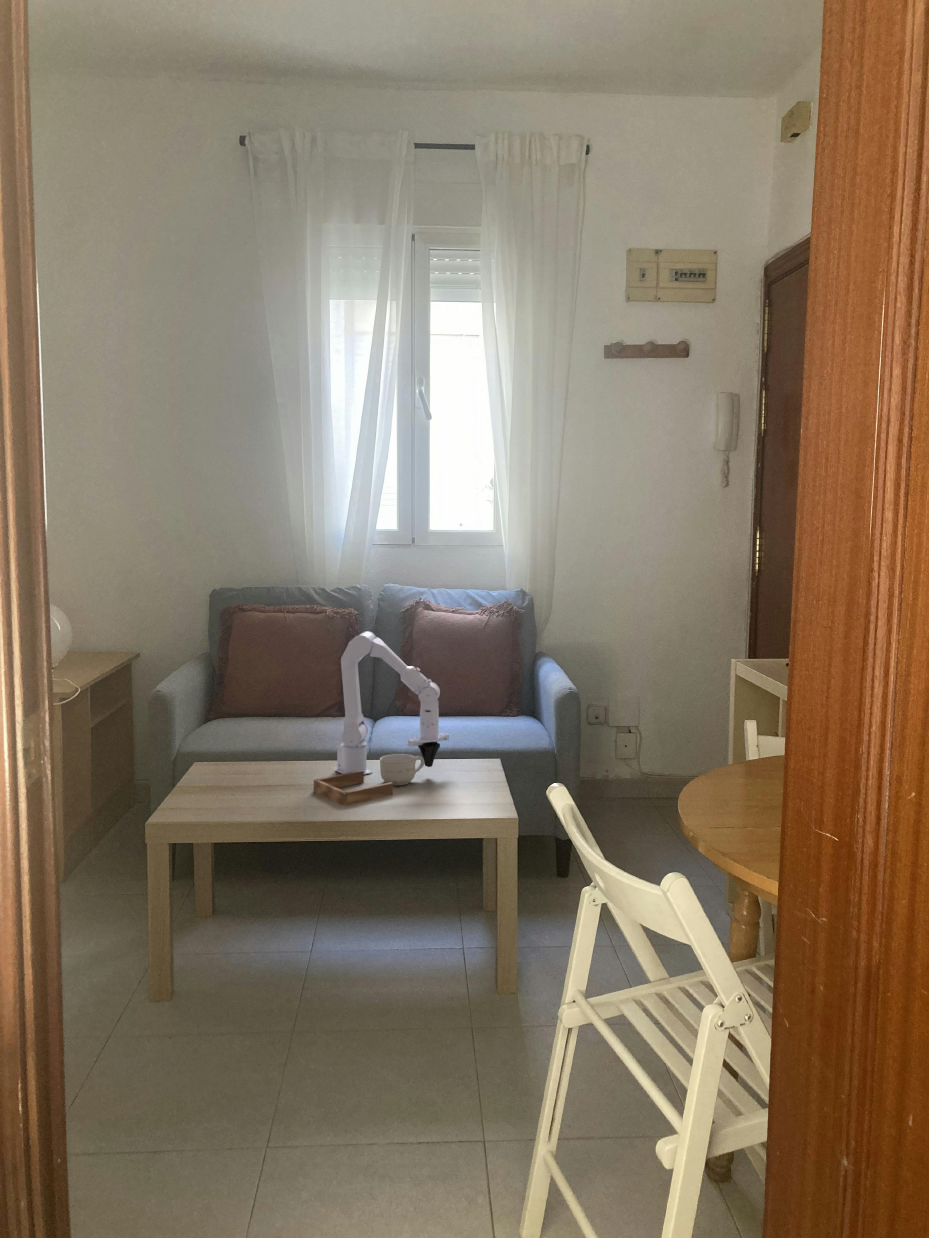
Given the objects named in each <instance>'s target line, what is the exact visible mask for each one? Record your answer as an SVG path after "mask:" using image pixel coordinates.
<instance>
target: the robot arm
mask: <svg viewBox="0 0 929 1238" xmlns="http://www.w3.org/2000/svg"><path fill="white" fill-rule="evenodd" d="M368 654H370V655H369V657H373V658H380V659H382V660H383V661H384V662H385V663H386V664H387V665H389V666H390V667H391V668H392V669H394V670H395V671H396V672H397V673H398V674H399V675H400V681H401V682H402V683H403V684H404V685H406V686H407V687H408V688H409V690H411V691H412V692H413V693H414V694H416V695H418V700H419V701H420V708H419V736H417V737H416V736H415V737H413V738H411V739H408V740H407V746H408V747H410V748H414V747H415V746H417V747H418V748H419V749H418V750H419V751H420V753H421V757H423V759H424V766H425V767H427V768H432V767H433V764H434V762H435V761H434V760H435V757H436V755H437V753H438V751H439V750H440V747H441V744H440V743H439V742H443V741H449V740H450V734H449V733H447V732H445V733H444V732H443V733H439V723H440V722H439V719H440V717H439V716H440V714H439V713H440V712H439V711H440V709H439V706H440V705H439V698H440V693H441V689H440V687H439V686H438V684H437V683H435V682H432V679H430V678H427V677H426V676H425V675H424V674H423V673H421V672H420V671H421V669H420V668H419V667H415V666H413V665H411V666H410V665H409V666H408V665H407V664H406V663H405V662H404V661H403V659H401V658H400V657H399V656H398V655H397V654H396V653H395V652H394V651H393V650H392V649H391V648H390V647H389V646H388V645H387V644H386V643H385V642H384V641H383V640H382V639H381V638H379V637H377V636H376V634H375V633H373V632H371V631H363V632H361V633H360V634H359V635H356V636H355V637H354V638H352V639H351V640H350V641H349V642H348V644H347V646H346V648H345V650H344V652H343V654H342V655H341V658H340V668H341V669H340V670H341V679H342V692H343V703H344V714H345V715H344V719H343V720H344V721H343V730H342V733H341V741H342V742H341V744H340V745H338V748H337V753H336V754H337V757H336V758H337V759H336V760H337V763H336V765H337V766H336V767H337V768H335V769H334V771H335V772H337V773H340V774H345V773H350V772H355V771H360V770H362V771H364V775H369V774H373V771H372V770H369V769H368V768H367V742H366V739H365V738H366V737H367V736H368V734H369V728H368V725H367V724H366V722H365V717H364V714H363V713H362V703H361V699H362V698H361V692H360V691H361V689H360V677H359V676H360V675H359V666H358V663H359V662H360V661H361V660H362V659H363V658H364V657H366V655H368Z"/></svg>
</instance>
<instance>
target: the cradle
mask: <svg viewBox="0 0 929 1238" xmlns="http://www.w3.org/2000/svg"><path fill="white" fill-rule="evenodd" d="M364 777H365V776H364V771H362V770H360V771H355V772H350V773H345V774H342V773H340V774H336V775H330V776H326V777H321V778H316V779H313V793H316V794H318V795H320V796H323V797H324V798H327V799H329V800H331V801H333V802H335V803H338V804H340V805H341V806H344V807H345V806H351V805H354V804H359V803H363V802H369V801H372V800H376V799H381V798H384V797H390V796H393V795H394V785H393V783H392V782H389V783H386V782H384V783H381V784H380V783H379V784H376V785H372V786H366V787H362V788H357V789H353V790H348V791H345V790H343V789H340V788H343V787H349V786H353V785H357V784H363V783H364V781H365V780H364Z"/></svg>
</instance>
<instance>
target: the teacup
mask: <svg viewBox="0 0 929 1238" xmlns="http://www.w3.org/2000/svg"><path fill="white" fill-rule="evenodd" d="M418 760H420V763H419V765H418V766H417V767H416V762H417V761H418ZM379 764H380V765H379V768H380V776H381V779H382V780H383V782H384V783H389V782H392V783H393V786H403V785H408V784H410V783H411V781H412V780H413V779H414V778H415V775H416V773H418V772H419V771H420V770H421V769H422V768H423V767H424V766H425V763H424V759H423V756H422V755H415V756H414V755H412V754H407V753H406V754H405V753H393V754H386V755H383V756H381V757H380V758H379Z"/></svg>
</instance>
